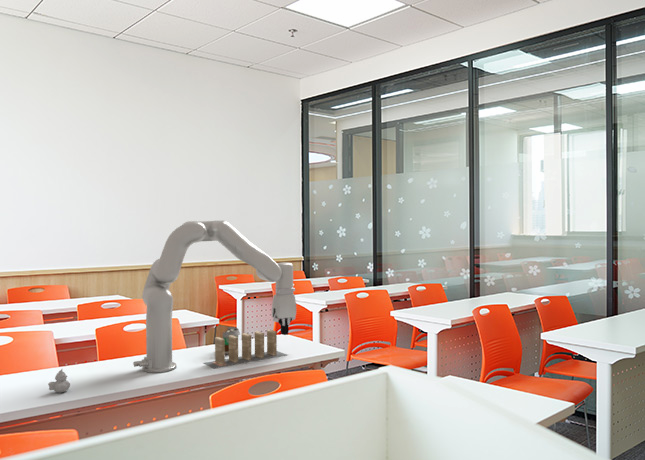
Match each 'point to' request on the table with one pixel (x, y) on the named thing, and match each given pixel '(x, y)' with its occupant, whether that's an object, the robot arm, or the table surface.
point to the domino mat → (243, 360)
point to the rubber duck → (59, 383)
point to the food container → (226, 334)
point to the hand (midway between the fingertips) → (284, 334)
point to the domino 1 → (219, 351)
